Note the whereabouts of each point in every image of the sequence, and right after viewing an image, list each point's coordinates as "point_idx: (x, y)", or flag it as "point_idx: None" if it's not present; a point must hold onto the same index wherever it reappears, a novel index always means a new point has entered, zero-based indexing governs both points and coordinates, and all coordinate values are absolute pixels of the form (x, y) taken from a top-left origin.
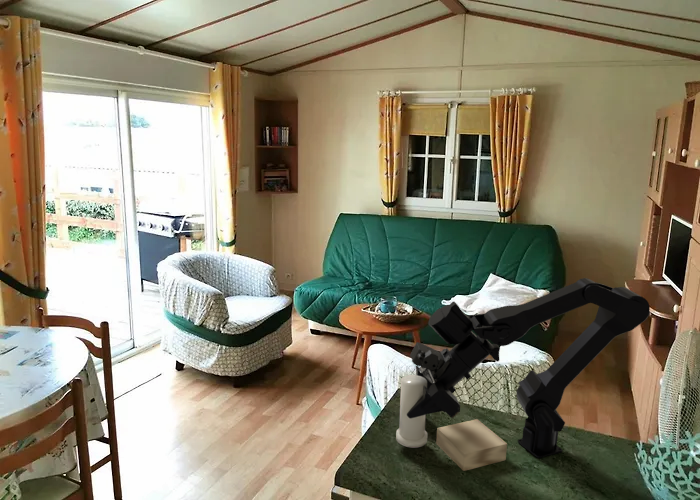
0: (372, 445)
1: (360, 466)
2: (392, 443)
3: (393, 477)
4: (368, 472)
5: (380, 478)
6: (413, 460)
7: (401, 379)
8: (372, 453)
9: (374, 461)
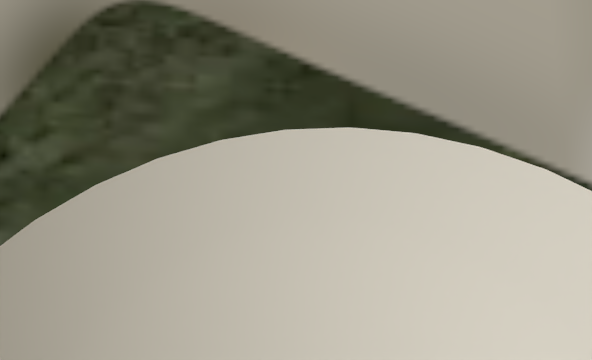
0: (319, 123)
1: (142, 56)
2: None
3: (39, 203)
4: (92, 89)
5: (40, 140)
6: None
7: (455, 151)
8: (246, 118)
9: (177, 122)
